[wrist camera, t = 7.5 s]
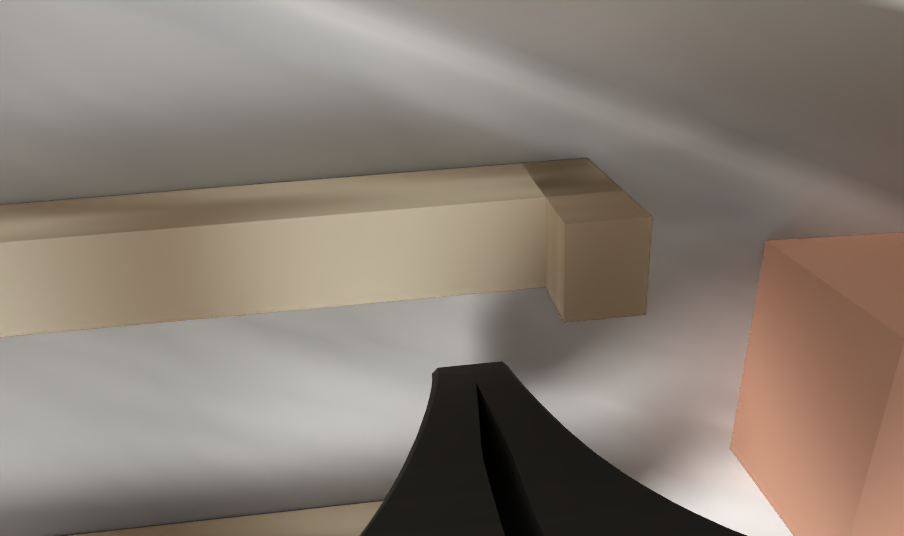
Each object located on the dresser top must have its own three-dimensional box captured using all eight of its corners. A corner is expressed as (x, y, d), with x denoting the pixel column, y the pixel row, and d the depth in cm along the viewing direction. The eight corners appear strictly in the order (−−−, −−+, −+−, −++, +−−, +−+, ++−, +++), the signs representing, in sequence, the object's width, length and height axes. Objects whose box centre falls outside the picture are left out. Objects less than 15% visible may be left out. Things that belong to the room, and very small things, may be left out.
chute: (-100, 608, 15) (-221, 766, 12) (-305, 229, 11) (-551, 319, 8) (577, 530, 16) (622, 658, 13) (587, 157, 12) (652, 217, 9)
